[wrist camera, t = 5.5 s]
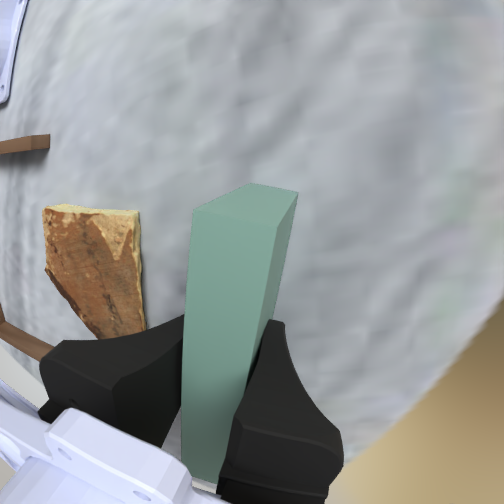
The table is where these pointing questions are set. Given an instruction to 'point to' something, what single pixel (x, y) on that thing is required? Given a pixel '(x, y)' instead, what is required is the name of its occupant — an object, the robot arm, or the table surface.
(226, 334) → the bar
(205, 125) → the table surface
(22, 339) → the walnut frame
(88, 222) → the shard
